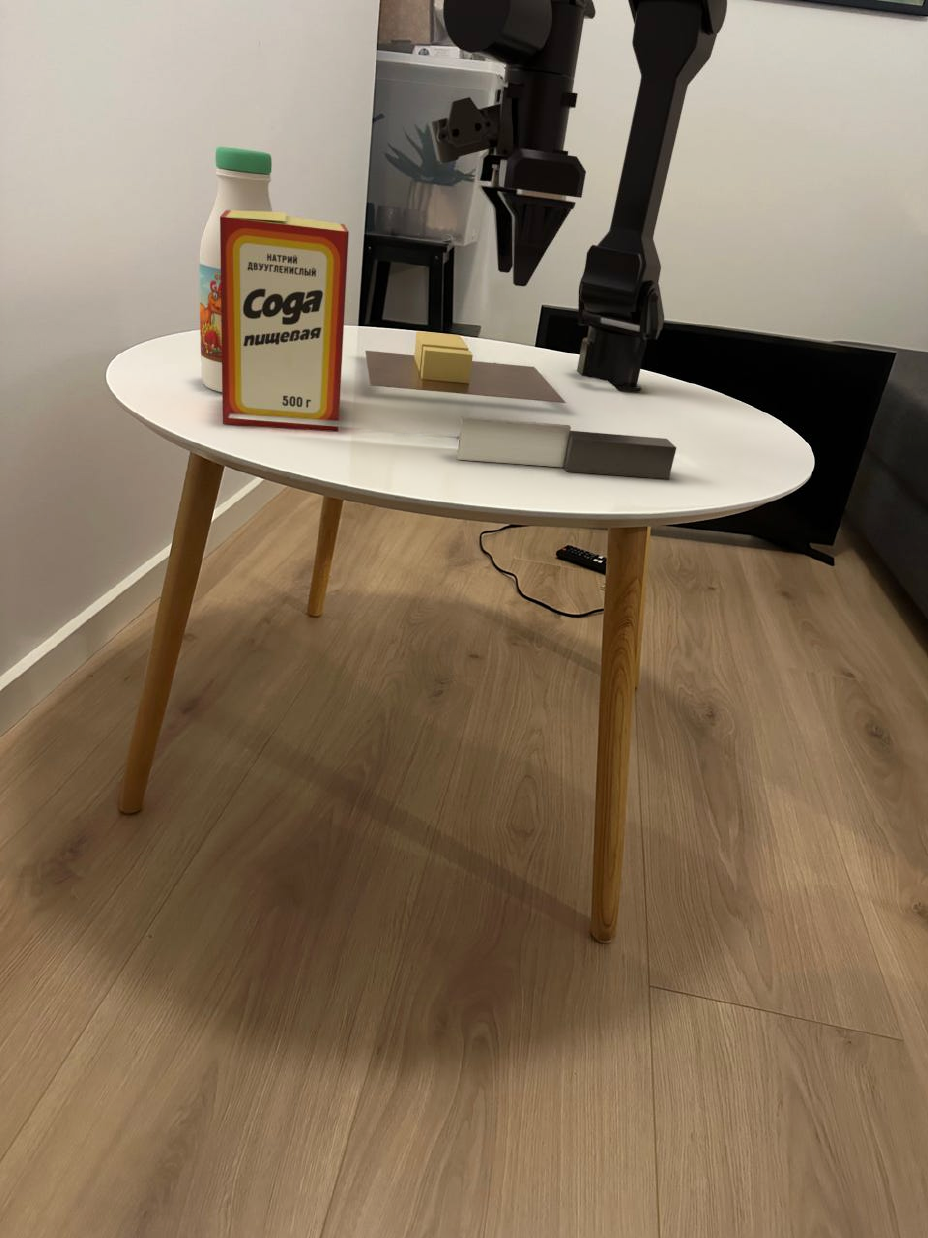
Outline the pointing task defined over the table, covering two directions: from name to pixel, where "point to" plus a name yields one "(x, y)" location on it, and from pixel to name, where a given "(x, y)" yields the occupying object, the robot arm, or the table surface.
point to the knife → (563, 448)
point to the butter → (436, 343)
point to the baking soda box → (282, 317)
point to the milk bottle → (240, 191)
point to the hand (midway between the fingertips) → (511, 278)
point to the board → (482, 382)
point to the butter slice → (446, 365)
